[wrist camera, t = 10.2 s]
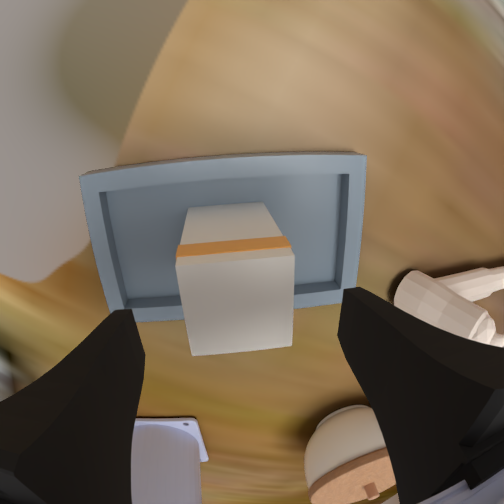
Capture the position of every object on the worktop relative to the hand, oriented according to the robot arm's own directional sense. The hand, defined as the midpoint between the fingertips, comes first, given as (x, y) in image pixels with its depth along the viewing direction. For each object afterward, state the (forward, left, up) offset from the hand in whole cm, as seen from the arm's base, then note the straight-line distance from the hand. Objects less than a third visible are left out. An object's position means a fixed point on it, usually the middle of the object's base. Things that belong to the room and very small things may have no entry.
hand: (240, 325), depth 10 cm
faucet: (+20, -5, -9) cm, 23 cm away
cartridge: (0, 0, -8) cm, 8 cm away
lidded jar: (+10, -21, -9) cm, 25 cm away
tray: (0, 0, -8) cm, 8 cm away
